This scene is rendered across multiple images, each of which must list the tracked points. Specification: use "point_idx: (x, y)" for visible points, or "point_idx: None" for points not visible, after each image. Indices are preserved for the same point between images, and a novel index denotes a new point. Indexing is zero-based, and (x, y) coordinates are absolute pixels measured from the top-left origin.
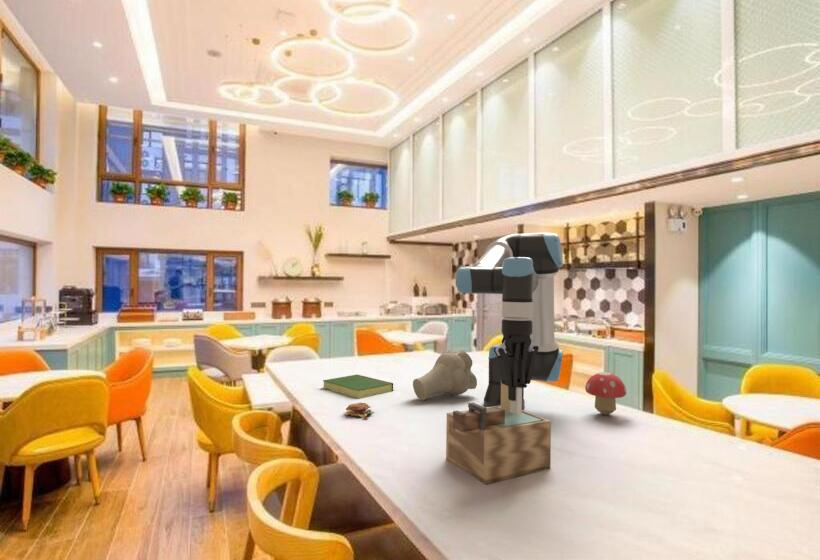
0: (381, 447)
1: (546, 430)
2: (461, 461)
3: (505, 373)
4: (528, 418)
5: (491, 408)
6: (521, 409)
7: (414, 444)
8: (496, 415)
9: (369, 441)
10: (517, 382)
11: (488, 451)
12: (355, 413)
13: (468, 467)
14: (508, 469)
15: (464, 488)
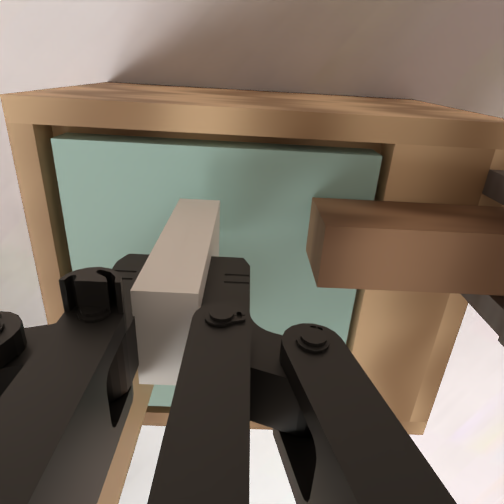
0: (452, 442)
1: (66, 92)
2: None
3: (432, 480)
4: (113, 201)
5: None
6: (176, 209)
7: None
8: (392, 219)
9: (447, 479)
10: (121, 384)
11: (459, 111)
12: None
13: None
14: (320, 96)
15: (492, 114)
